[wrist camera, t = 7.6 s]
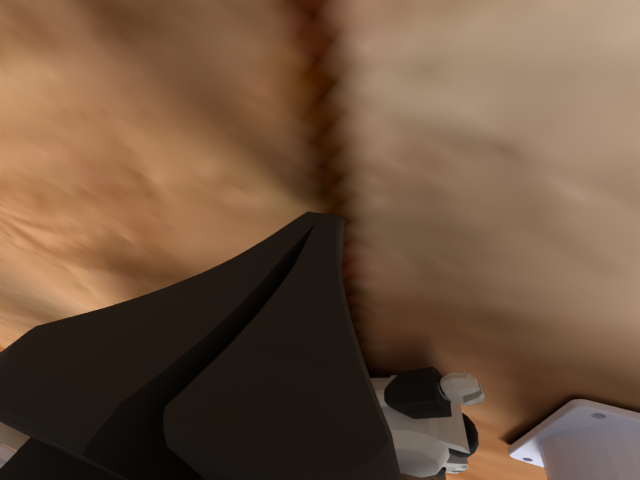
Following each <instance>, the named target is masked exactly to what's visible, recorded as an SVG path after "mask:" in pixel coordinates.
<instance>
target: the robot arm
mask: <svg viewBox="0 0 640 480" xmlns="http://www.w3.org/2000/svg"><path fill="white" fill-rule="evenodd" d="M344 227H345V220H344V218H343V217H342V216H335V215H328V214H321V213H314V212H306V213H304V214H303V215H301V216H300V217H298V218H297V219H295V220H294V221H292V222H291V223H289V224H288V225H287V226H285V227H284V228H282V229H280V230H279V231H277V232H276V233H274V234H273V235H271V236H270V237H268V238H267V239H265V240H263V241H262V242H260V243H258V244H257V245H255V246H253V247H252V248H250V249H248V250H247V251H245V252H243V253H241V254H240V255H238V256H236V257H234V258H232V259H230V260H228V261H226V262H224V263H222V264H220V265H218V266H216V267H214V268H212V269H210V270H208V271H205V272H203V273H201V274H198V275H196V276H193V277H191V278H188V279H186V280H184V281H181V282H179V283H176V284H174V285H171V286H169V287H166V288H163V289H161V290H158V291H155V292H152V293H149V294H146V295H144V296H141V297H138V298H134V299H131V300H128V301H125V302H122V303H119V304H116V305H112V306H109V307H106V308H102V309H99V310H95V311H91V312H88V313H84V314H80V315H77V316H73V317H69V318H65V319H62V320H58V321H54V322H51V323H47V324H43V325H38V326H36V327H34V328H33V329H31V330H30V331H28V332H27V333H25V334H24V335H23V336H22V337H20V338H19V339H18V340H16V341H15V342H14V343H12V344H11V345H10V346H8V347H7V348H6V349H4V350H3V351H2V352H0V422H2V423H4V424H6V425H8V426H10V427H12V428H14V429H16V430H18V431H20V432H22V433H24V434H26V435H28V436H30V439H28V441H27V442H26V443H25V444H24V445H23V446H22V447H21V448H20V449H19V450H18V451H16V450H14V449H12V448H10V447H8V446H6V445H4V444H2V443H0V480H402V478H401V473H400V469H399V465H398V460H397V456H396V452H395V447H394V442H393V437H392V433H391V430H390V428H389V425H388V423H387V420H386V418H385V416H384V413H383V411H382V408H381V406H380V403H379V400H378V398H377V395H376V392H375V390H374V387H373V385H372V382H371V379H370V376H369V373H368V371H367V368H366V365H365V362H364V359H363V356H362V353H361V350H360V347H359V343H358V340H357V337H356V333H355V330H354V327H353V323H352V320H351V316H350V312H349V308H348V304H347V299H346V294H345V290H344V284H343V278H342V270H341V266H342V261H343V245H344ZM508 453H509V455H510V456H511V457H512V458H515V459H518V460H521V461H524V462H527V463H531V464H534V465H537V466H540V467H544V468H545V472H546V475H547V478H548V480H640V413H638V412H634V411H630V410H626V409H622V408H618V407H614V406H610V405H606V404H602V403H598V402H593V401H589V400H585V399H575V400H571V401H570V402H568V403H567V404H566V405H564V406H563V407H562V408H560V409H559V410H558V411H556V412H555V413H554V414H552V415H551V416H549V417H548V418H547V419H545V420H544V421H543V422H541V423H540V424H539V425H537V426H536V427H535V428H533V429H532V430H531V431H529V432H528V433H527V434H525V435H524V436H523V437H521V438H520V439H519V440H517V441H516V442H515V443H513V444H512V445H511V446H509V447H508Z"/></svg>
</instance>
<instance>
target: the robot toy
mask: <svg viewBox="0 0 640 480" xmlns="http://www.w3.org/2000/svg"><path fill="white" fill-rule="evenodd" d="M370 379H371V382H372V385H373V387H374V390H375V392H376V395H377V398H378V400H379V403H380V406H381V408H382V411H383V413H384V416H385V418H386V420H387V423H388V425H389V428H390V430H391V433H392V437H393V442H394V447H395V452H396V456H397V460H398V465H399V469H400V473H403V474H407V475H412V476H416V477H427V476H435V477H438V478H440V477H442V476H443V475H444V473H445V472H448V473H454V474H457V473H459V472H461V471H464V470H466V469H468V462H467V457H469V456H470V455H472V454H473V453H475V451H476V449H477V447H478V444H479V443H478V432H477V430H476V427H475V425H474V424H473V422H472V421H471V420H470V419H469V417H468V416H466V415H465V414H463V413H462V412H461V407H460V404H462V405H466V406H471V405H474V404H477V403H481V402H482V401H483V399H484V397H485V394H484V390H483V388H482V386H481V385H480V384H479V383H478V381H477V379H476V378H475V377H474V376H472V375H470V374H468V373H460V372H451V373H449V374H448V375H446V376H445V377H442V375H441V374H440V373H439V371H438V370H437V369H436V368H434V367H429V368H423V369H417V370H411V371H405V372H400V373H399V374H398V375H391V378H370Z"/></svg>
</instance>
